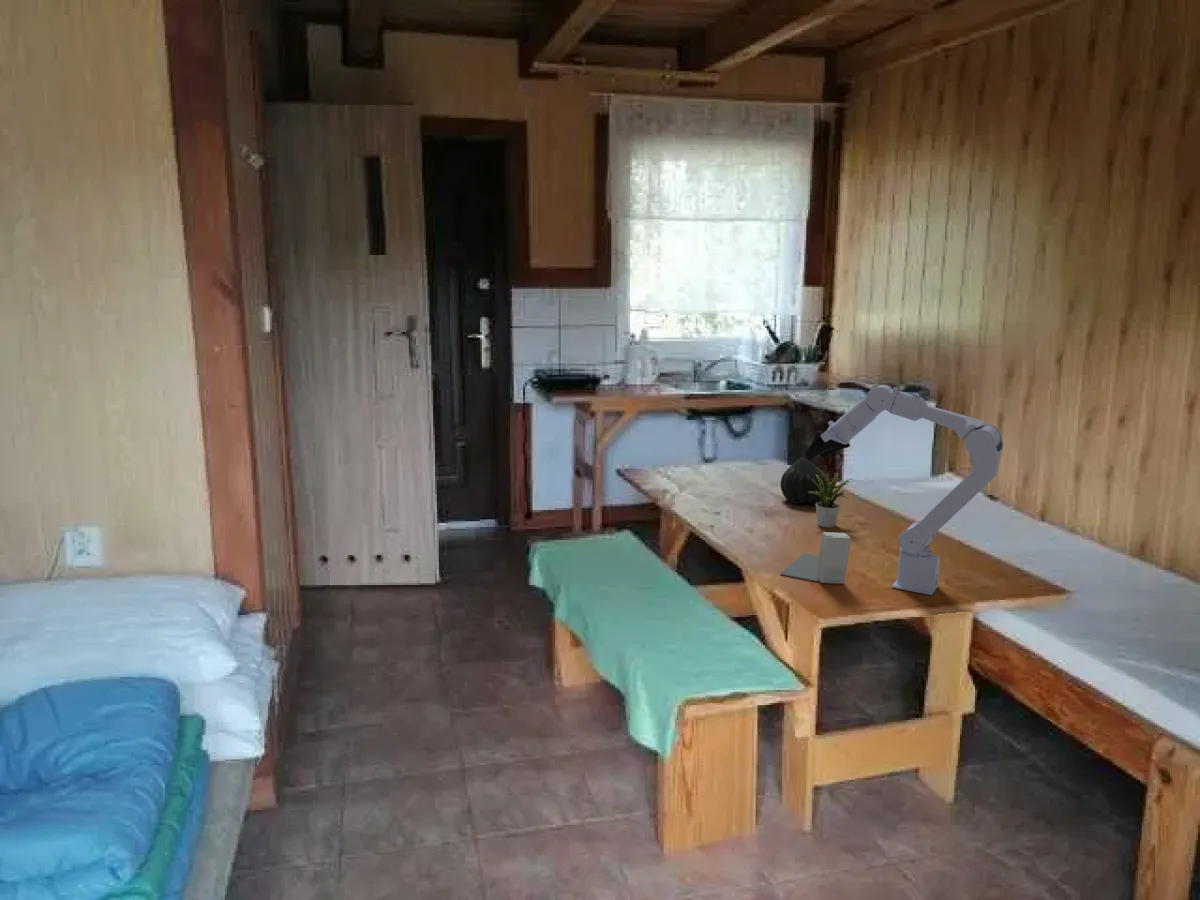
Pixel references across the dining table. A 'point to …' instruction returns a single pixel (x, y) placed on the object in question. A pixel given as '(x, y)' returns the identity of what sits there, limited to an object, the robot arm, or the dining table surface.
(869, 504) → the dining table surface
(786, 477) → the squash
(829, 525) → the house plant
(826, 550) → the skincare box
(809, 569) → the mat
